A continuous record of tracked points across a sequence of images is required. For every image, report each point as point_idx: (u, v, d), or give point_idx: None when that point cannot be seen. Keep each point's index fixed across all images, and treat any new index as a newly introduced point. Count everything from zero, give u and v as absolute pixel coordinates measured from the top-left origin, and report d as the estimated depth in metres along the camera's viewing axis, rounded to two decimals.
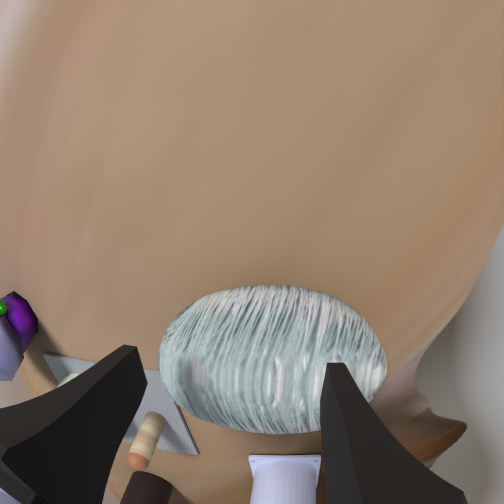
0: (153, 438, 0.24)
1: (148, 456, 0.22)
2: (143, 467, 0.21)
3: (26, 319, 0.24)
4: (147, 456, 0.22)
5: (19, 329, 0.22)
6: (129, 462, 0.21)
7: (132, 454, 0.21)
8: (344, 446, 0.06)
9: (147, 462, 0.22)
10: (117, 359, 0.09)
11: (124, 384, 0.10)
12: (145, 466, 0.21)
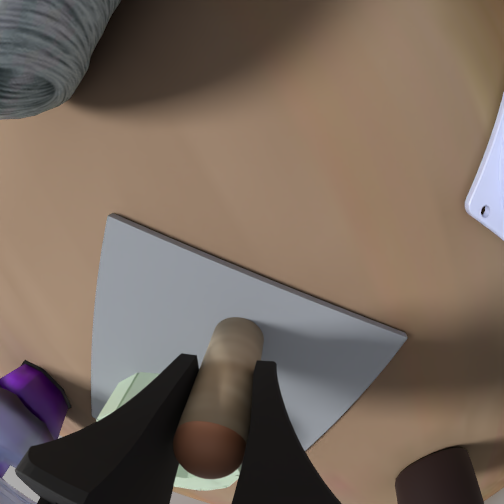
0: (218, 367, 0.10)
1: (214, 414, 0.08)
2: (215, 455, 0.07)
3: (27, 376, 0.16)
4: (211, 415, 0.08)
5: (15, 387, 0.14)
6: None
7: None
8: None
9: (217, 432, 0.07)
10: (181, 370, 0.09)
11: (186, 396, 0.09)
12: (220, 449, 0.07)
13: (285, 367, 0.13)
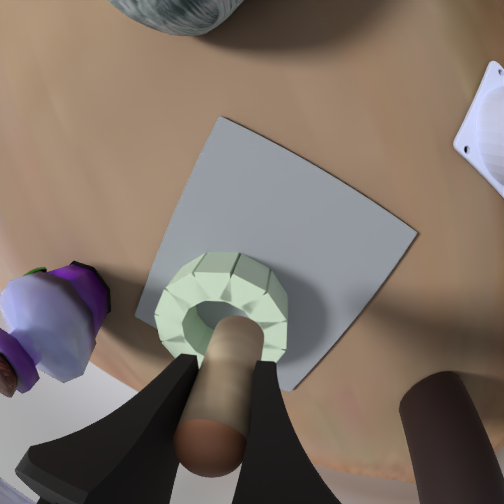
0: (220, 365, 0.10)
1: (215, 412, 0.08)
2: (217, 453, 0.07)
3: (77, 272, 0.21)
4: (212, 414, 0.08)
5: (67, 278, 0.19)
6: (182, 464, 0.07)
7: None
8: None
9: (219, 430, 0.07)
10: (181, 370, 0.09)
11: (186, 396, 0.09)
12: (221, 447, 0.07)
13: (331, 246, 0.18)
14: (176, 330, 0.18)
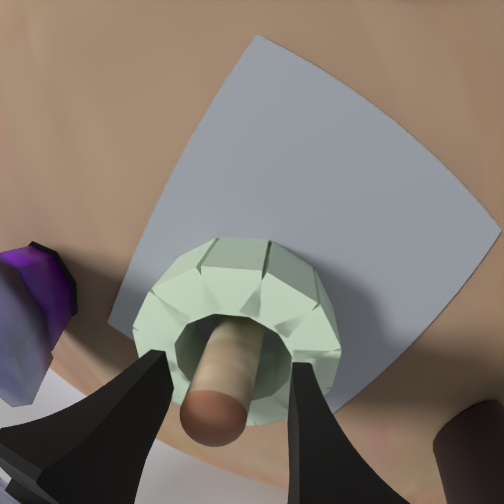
0: (224, 343, 0.11)
1: (219, 384, 0.09)
2: (219, 421, 0.08)
3: (33, 256, 0.13)
4: (216, 385, 0.09)
5: (16, 264, 0.12)
6: (187, 433, 0.08)
7: None
8: (298, 447, 0.06)
9: (222, 400, 0.08)
10: (147, 365, 0.09)
11: (154, 390, 0.09)
12: (224, 415, 0.08)
13: (403, 239, 0.12)
14: None
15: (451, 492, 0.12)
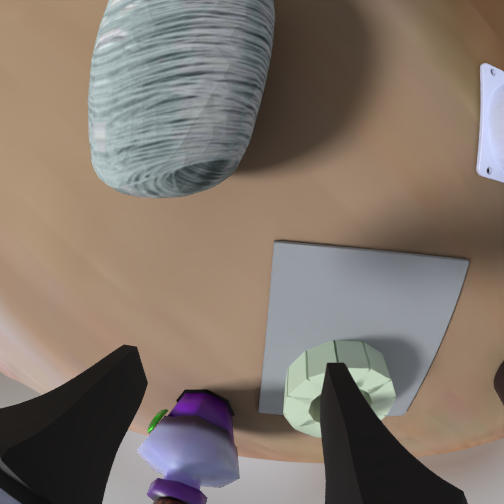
0: None
1: None
2: None
3: (195, 400, 0.23)
4: None
5: (191, 411, 0.22)
6: None
7: None
8: (344, 446, 0.06)
9: None
10: (117, 359, 0.09)
11: (124, 384, 0.10)
12: None
13: (405, 305, 0.19)
14: (305, 418, 0.20)
15: None
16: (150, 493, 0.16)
